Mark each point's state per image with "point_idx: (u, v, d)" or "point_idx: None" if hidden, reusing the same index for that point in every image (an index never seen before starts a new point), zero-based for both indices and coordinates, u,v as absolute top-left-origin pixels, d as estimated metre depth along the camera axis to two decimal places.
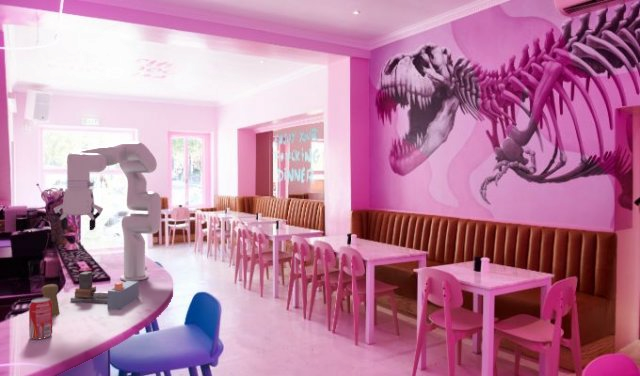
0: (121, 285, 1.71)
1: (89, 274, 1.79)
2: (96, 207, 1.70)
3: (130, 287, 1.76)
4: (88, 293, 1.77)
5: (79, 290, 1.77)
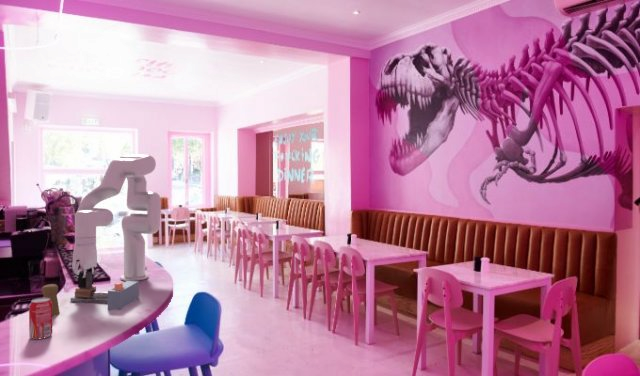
0: (121, 285, 1.71)
1: (89, 274, 1.79)
2: None
3: (130, 287, 1.76)
4: (88, 293, 1.77)
5: (79, 290, 1.77)
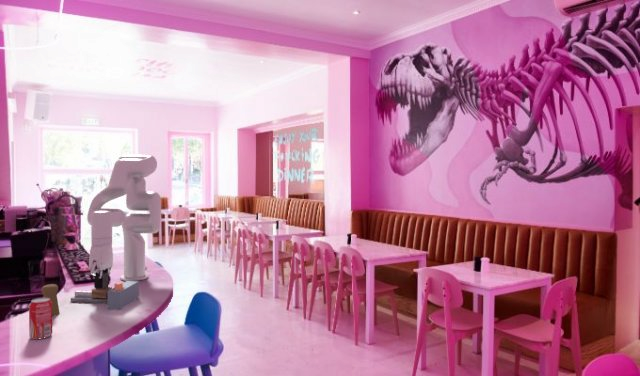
0: (121, 285, 1.71)
1: (105, 275, 1.78)
2: None
3: (130, 287, 1.76)
4: (104, 294, 1.76)
5: (95, 291, 1.76)
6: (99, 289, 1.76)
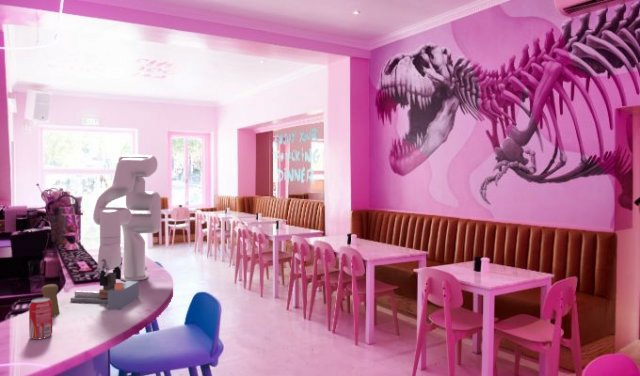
0: (121, 285, 1.71)
1: (113, 275, 1.78)
2: None
3: (130, 287, 1.76)
4: None
5: (103, 291, 1.76)
6: (107, 289, 1.76)
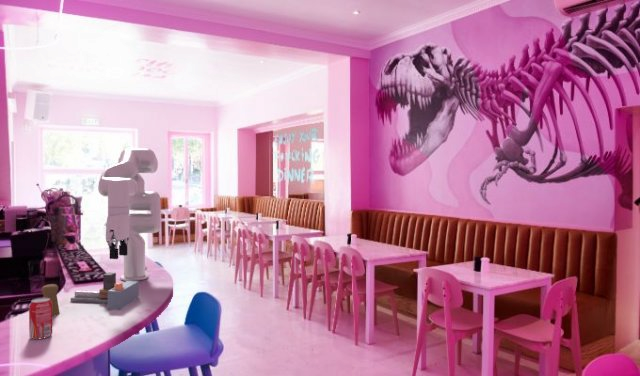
0: (121, 285, 1.71)
1: (113, 275, 1.78)
2: None
3: (130, 287, 1.76)
4: None
5: (103, 291, 1.76)
6: (107, 289, 1.76)
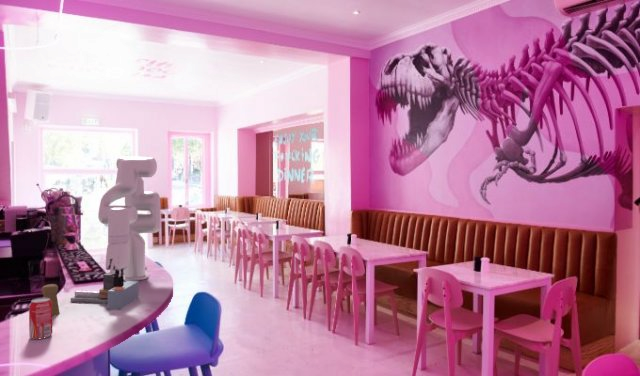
0: (121, 288, 1.71)
1: None
2: None
3: (130, 287, 1.76)
4: None
5: (103, 291, 1.76)
6: (107, 289, 1.76)
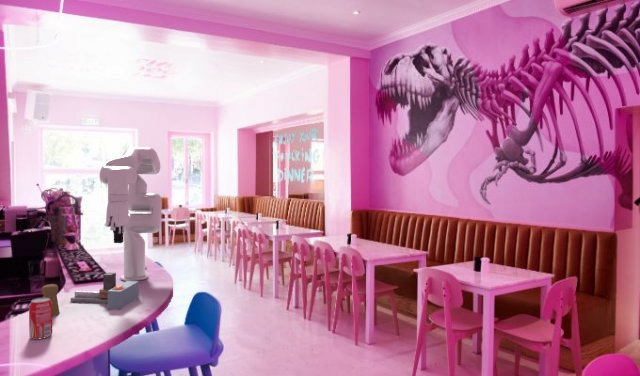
0: (121, 288, 1.71)
1: (113, 275, 1.78)
2: None
3: (130, 287, 1.76)
4: None
5: (103, 291, 1.76)
6: (107, 289, 1.76)
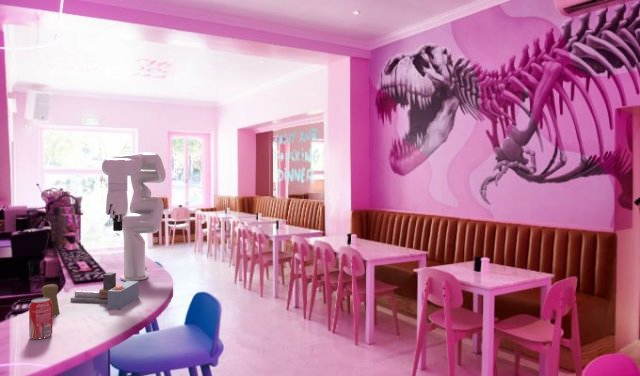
0: (121, 288, 1.71)
1: (113, 275, 1.78)
2: None
3: (130, 287, 1.76)
4: None
5: (103, 291, 1.76)
6: (107, 289, 1.76)
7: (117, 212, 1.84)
